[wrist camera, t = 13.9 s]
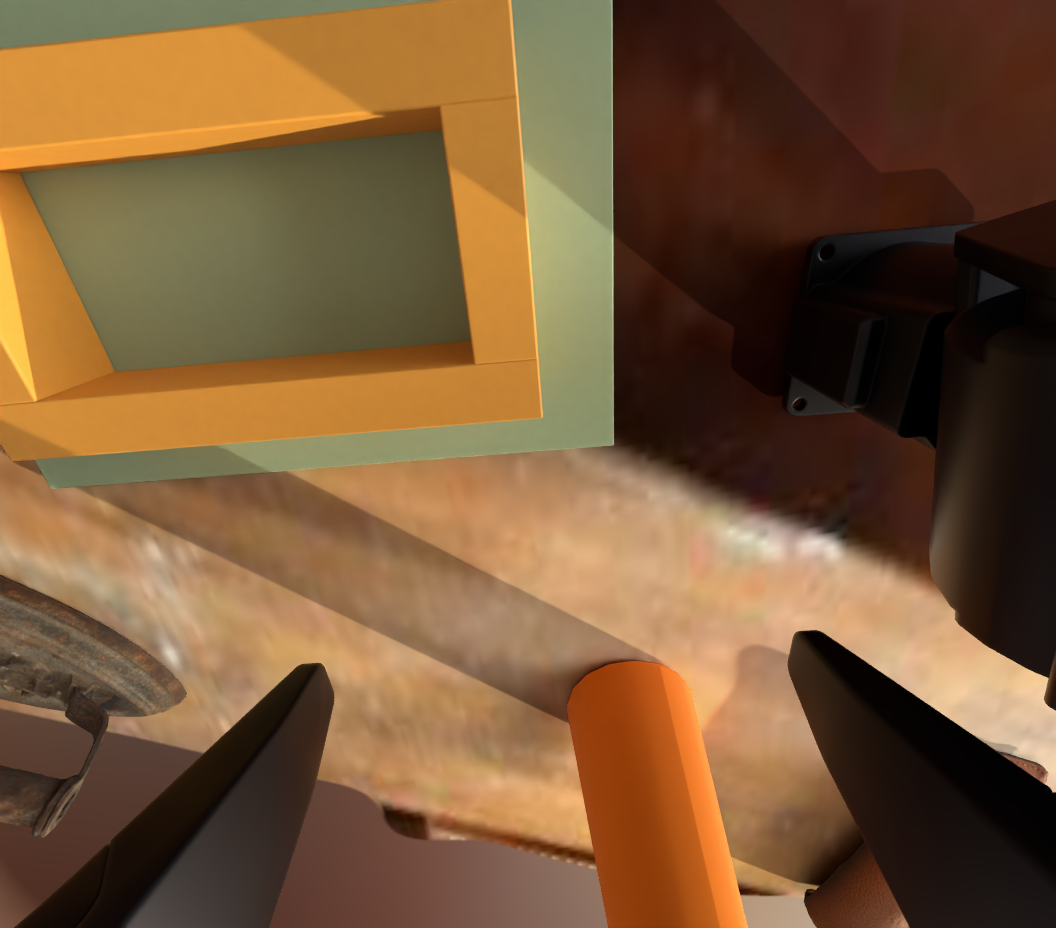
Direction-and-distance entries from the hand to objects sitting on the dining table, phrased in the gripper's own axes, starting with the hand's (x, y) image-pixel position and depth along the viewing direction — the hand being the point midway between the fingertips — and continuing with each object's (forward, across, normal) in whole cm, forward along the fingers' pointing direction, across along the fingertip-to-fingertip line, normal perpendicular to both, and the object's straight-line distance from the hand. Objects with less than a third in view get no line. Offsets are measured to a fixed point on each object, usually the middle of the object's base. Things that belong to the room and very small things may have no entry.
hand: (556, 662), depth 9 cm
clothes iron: (+12, +25, +11) cm, 30 cm away
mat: (+12, +9, -7) cm, 17 cm away
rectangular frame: (+12, +9, -7) cm, 16 cm away
